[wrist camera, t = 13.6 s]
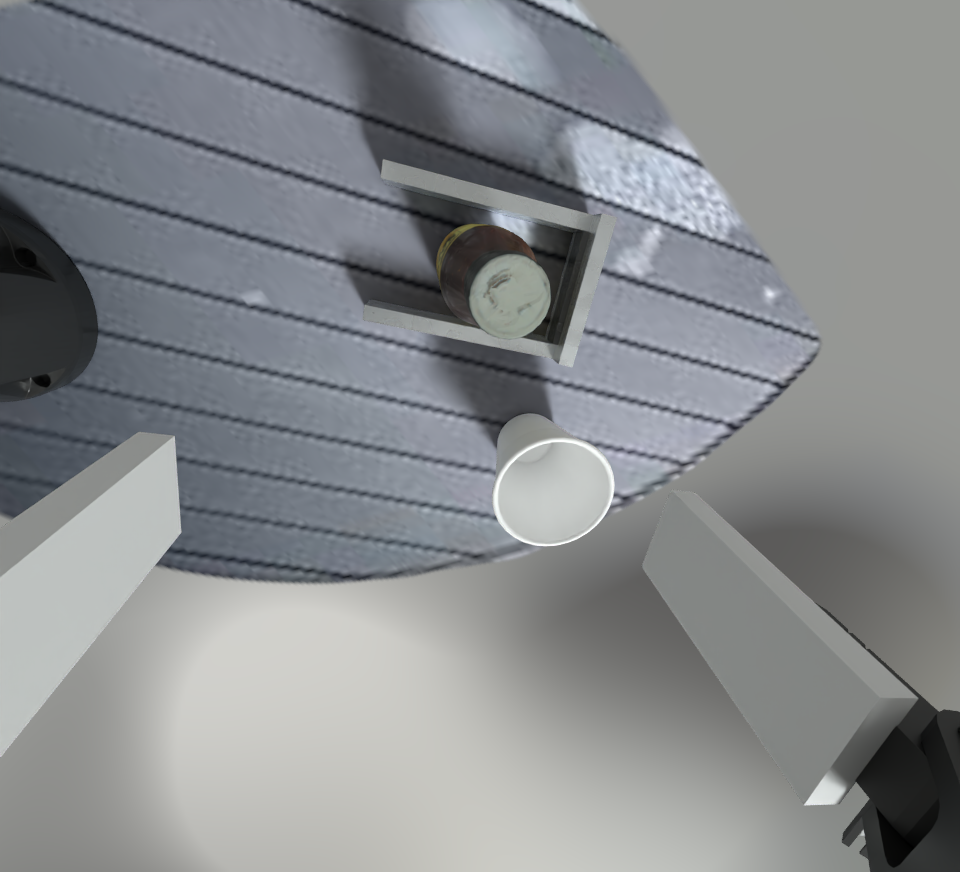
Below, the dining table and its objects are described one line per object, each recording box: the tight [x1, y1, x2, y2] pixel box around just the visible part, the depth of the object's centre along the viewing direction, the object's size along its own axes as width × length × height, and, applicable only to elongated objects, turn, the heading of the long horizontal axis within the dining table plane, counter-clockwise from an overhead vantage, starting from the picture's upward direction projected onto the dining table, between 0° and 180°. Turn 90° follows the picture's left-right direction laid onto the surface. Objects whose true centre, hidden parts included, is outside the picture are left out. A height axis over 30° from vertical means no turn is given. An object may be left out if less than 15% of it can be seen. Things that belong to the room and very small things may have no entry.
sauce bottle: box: [436, 224, 551, 340], centre depth 31 cm, size 6×6×20 cm
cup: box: [492, 413, 614, 546], centre depth 42 cm, size 10×10×11 cm
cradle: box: [363, 159, 617, 367], centre depth 37 cm, size 17×11×6 cm, turn 77°
